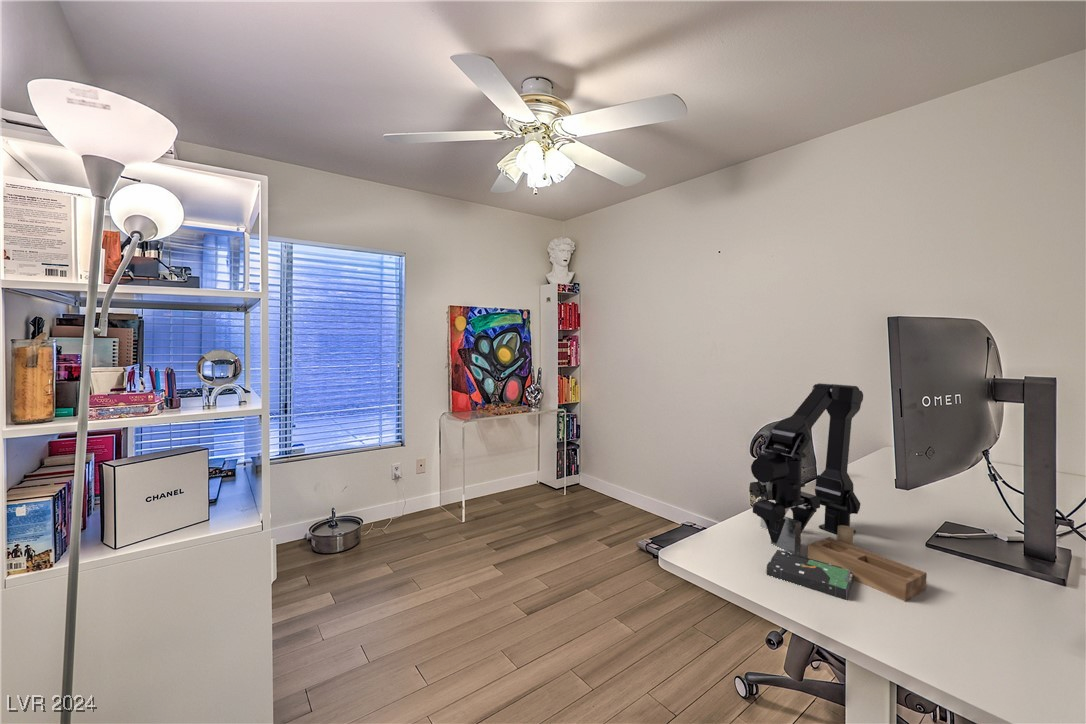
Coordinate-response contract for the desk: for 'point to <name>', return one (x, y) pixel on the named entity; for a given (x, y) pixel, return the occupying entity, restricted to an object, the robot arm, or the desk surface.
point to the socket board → (870, 568)
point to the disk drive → (811, 574)
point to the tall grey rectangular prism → (790, 536)
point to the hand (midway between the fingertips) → (785, 539)
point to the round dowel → (845, 534)
